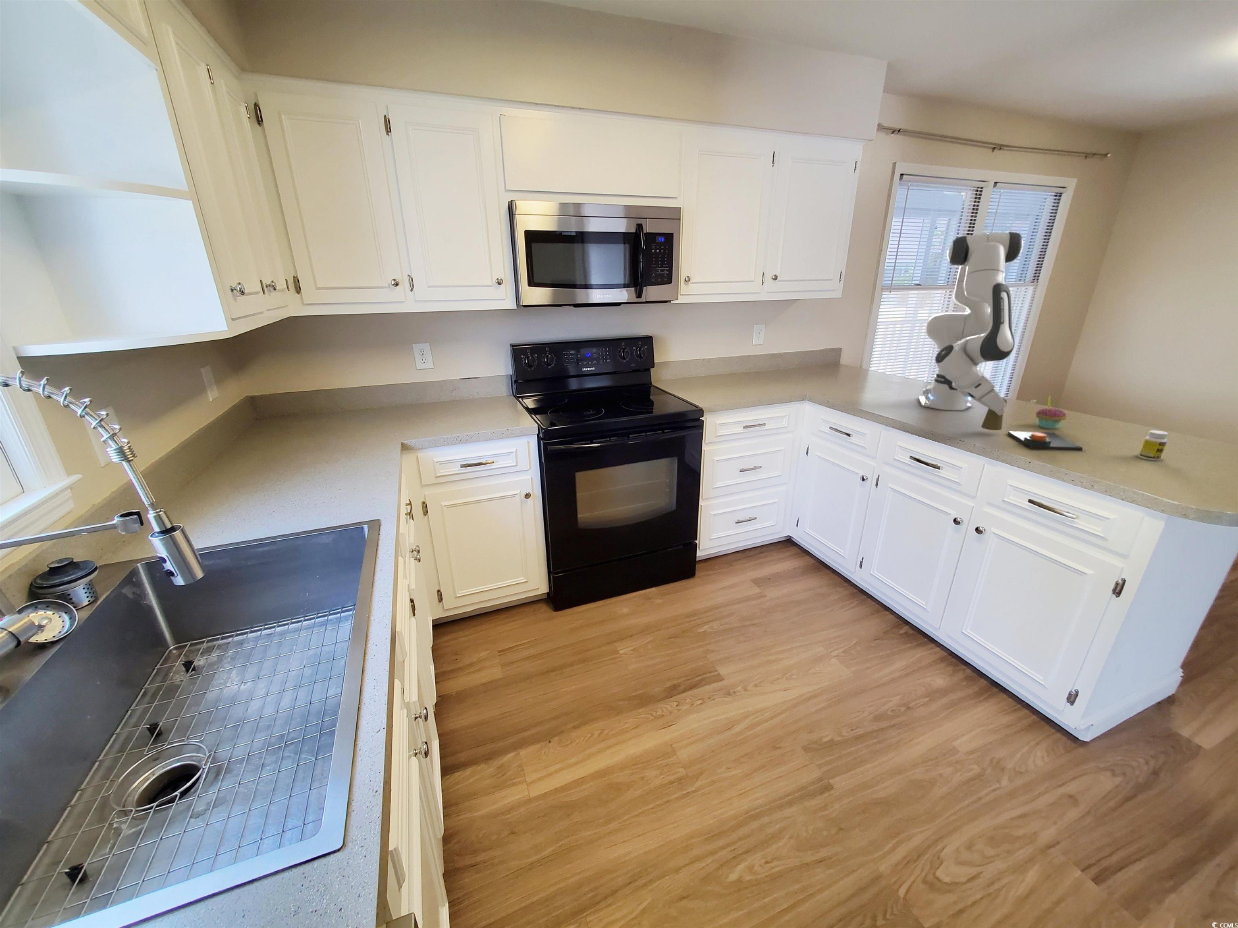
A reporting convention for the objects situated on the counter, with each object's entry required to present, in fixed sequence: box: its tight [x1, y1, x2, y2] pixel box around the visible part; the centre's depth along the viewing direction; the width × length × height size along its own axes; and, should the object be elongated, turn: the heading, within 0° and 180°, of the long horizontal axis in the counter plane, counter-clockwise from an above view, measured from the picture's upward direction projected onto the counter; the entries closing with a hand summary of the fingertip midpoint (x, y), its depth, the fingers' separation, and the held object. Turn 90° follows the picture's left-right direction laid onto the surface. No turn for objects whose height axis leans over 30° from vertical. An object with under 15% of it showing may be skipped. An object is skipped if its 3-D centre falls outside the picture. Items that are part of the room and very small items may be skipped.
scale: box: [1007, 431, 1083, 452], centre depth 168 cm, size 16×15×3 cm
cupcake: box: [1035, 394, 1067, 429], centre depth 181 cm, size 9×8×12 cm
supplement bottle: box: [1138, 429, 1169, 461], centre depth 150 cm, size 5×5×8 cm
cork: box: [980, 397, 1008, 431], centre depth 175 cm, size 6×6×11 cm
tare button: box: [1030, 431, 1047, 440], centre depth 163 cm, size 4×4×2 cm
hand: (997, 411), depth 174 cm, fingers closed on cork, 4 cm apart
